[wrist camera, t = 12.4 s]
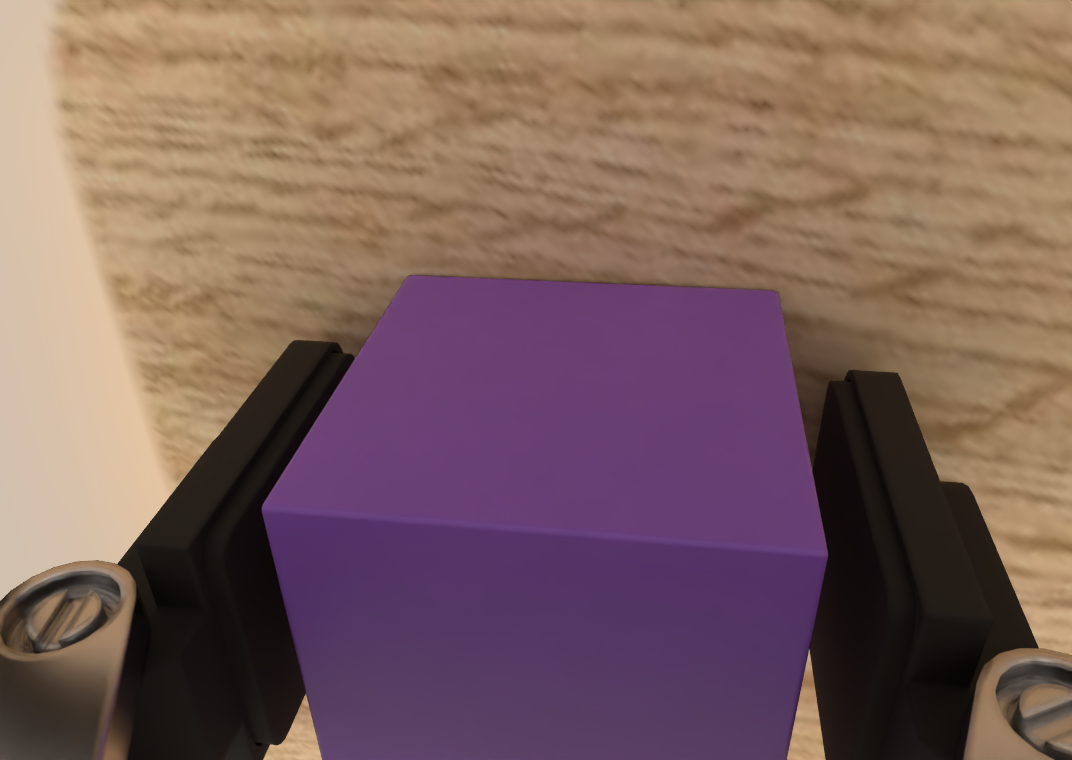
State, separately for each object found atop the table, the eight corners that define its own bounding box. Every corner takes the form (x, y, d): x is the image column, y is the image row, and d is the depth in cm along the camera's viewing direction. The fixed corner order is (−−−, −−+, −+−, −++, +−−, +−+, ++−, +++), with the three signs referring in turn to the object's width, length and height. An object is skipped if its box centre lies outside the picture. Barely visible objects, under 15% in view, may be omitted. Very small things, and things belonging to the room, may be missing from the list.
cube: (407, 272, 11) (258, 507, 7) (779, 289, 10) (829, 553, 7) (436, 545, 13) (337, 828, 10) (741, 570, 13) (762, 885, 9)
